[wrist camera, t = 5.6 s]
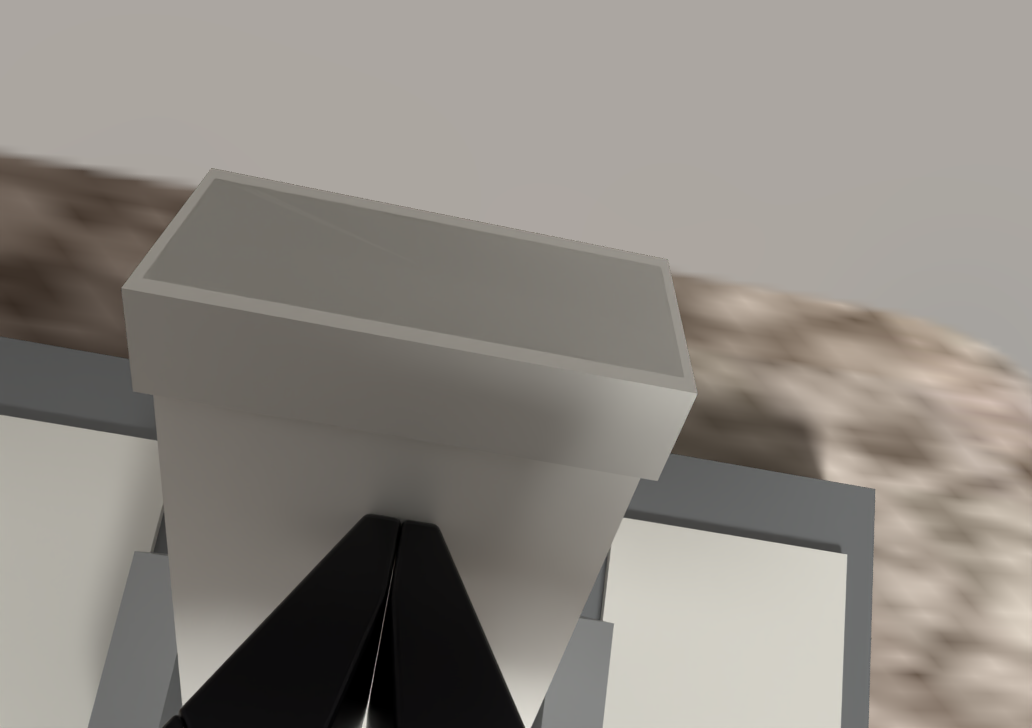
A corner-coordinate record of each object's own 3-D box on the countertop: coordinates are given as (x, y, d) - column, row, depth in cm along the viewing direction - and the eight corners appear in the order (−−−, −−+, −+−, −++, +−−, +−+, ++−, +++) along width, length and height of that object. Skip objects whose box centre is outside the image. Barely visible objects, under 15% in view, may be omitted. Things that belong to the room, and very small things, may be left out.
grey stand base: (808, 924, 17) (949, 1044, 13) (-212, 808, 15) (-455, 903, 11) (827, 497, 19) (951, 476, 15) (-50, 346, 17) (-196, 272, 13)
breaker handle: (512, 795, 13) (698, 393, 8) (174, 752, 12) (121, 287, 7) (517, 657, 15) (667, 259, 9) (224, 615, 14) (211, 168, 9)
